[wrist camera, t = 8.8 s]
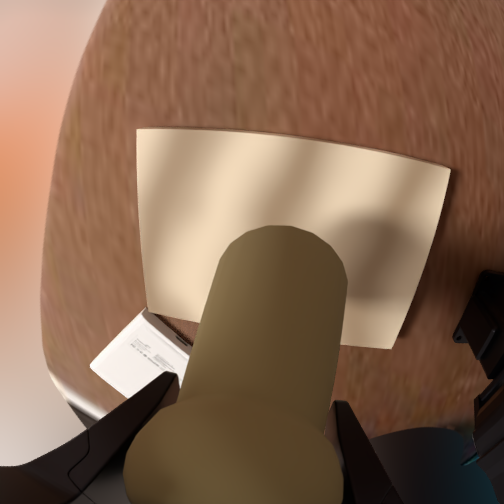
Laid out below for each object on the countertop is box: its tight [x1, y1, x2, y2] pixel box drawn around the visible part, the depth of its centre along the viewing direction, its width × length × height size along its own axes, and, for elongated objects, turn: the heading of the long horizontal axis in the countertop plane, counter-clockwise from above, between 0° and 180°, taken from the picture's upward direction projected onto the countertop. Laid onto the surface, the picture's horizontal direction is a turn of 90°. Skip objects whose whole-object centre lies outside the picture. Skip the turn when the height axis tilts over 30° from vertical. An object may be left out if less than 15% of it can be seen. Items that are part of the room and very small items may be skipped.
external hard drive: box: [90, 307, 192, 399], centre depth 27 cm, size 2×8×12 cm
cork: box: [123, 225, 348, 504], centre depth 9 cm, size 6×6×11 cm
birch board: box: [137, 127, 451, 349], centre depth 19 cm, size 18×13×2 cm
